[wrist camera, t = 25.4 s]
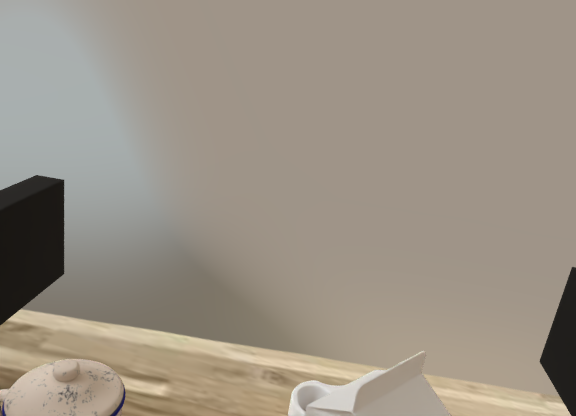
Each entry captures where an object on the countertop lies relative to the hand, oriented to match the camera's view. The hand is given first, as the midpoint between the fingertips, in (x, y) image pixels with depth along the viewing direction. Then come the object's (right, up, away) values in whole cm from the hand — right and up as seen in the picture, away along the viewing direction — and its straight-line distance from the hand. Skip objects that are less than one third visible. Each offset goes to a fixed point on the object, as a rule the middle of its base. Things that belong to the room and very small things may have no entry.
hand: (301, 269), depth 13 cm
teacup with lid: (-21, -22, +31) cm, 43 cm away
